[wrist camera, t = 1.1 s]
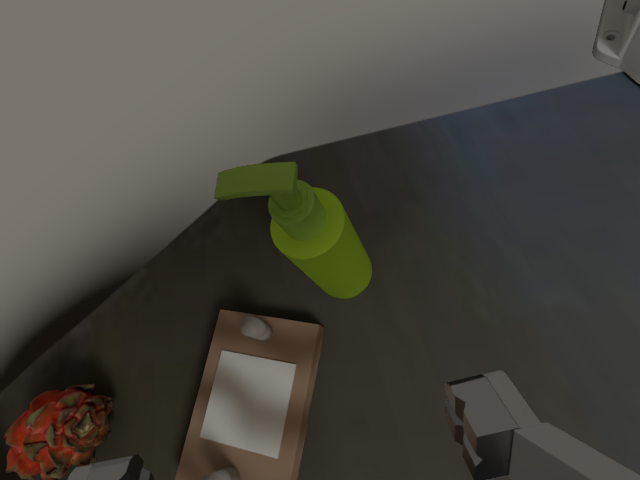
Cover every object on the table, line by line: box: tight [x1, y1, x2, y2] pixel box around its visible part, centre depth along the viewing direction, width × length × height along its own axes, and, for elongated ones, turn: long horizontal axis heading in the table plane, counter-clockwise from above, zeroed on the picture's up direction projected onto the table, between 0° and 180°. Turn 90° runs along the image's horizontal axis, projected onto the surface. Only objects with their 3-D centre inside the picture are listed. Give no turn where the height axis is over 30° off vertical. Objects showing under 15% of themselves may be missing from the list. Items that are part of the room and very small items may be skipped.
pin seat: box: [175, 309, 325, 480], centre depth 37 cm, size 16×11×6 cm
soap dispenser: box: [215, 162, 372, 299], centre depth 33 cm, size 6×7×20 cm
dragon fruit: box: [4, 383, 114, 480], centre depth 40 cm, size 8×8×12 cm
